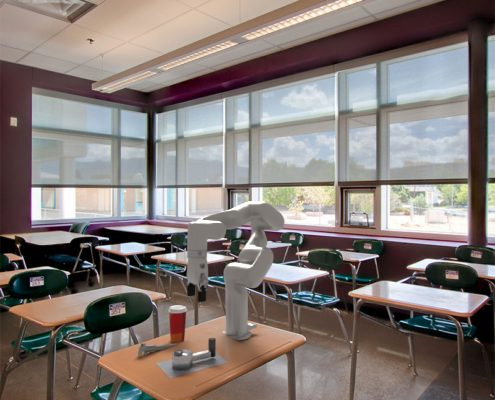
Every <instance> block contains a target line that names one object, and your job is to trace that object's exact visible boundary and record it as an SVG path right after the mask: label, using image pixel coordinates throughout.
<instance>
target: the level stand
mask: <svg viewBox="0 0 495 400" xmlns="http://www.w3.org/2000/svg"><path fill="white" fill-rule="evenodd" d="M226 364H229V361H227V359H225V358H223V357H222V356H221V355H219V354H218V353H217V352H216V356H215V357H210V358H206V359H202V360H198V361H194V362H193V365H192V367H190V368H188V369H185V370H177V369H174V368H173V367H172V358H171V359H167V360H164V361H160V362H156V363H155V365H156V366H157V367H158V368H159V369H160V370H161V371H162V372H163V373H164V374H165V375H166V376H167V377H168V378H169V379H173V378H176V377H177V378H178V377H179V376H184V375H187V374H190V373H191V374H192V373H195V372H198V371H202V370H206V369H209V368H213V367H218V366H220V365H226Z"/></svg>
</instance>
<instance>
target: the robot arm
mask: <svg viewBox="0 0 495 400" xmlns="http://www.w3.org/2000/svg"><path fill="white" fill-rule="evenodd" d="M249 222H250V229H251V231H250V233H251V234H250V237H249V239H248V241H247V242H246V243H245V245H244V246H243V247H242V249H241V250H240V253H239V254H238V261H237V262H236V261H235V262H230V263H227V265H225V266H224V267H225V268H224V269H223V280H224V285H225V330H223V331H222V334H223V335H224V334H225V335H226V336H228V337H230V338H231V339H233V341H245V340H248V339H249V338H251V336H252V332H251V330H254V329H257V328H258V325H257V324H256V323H253V324H252V323H250V322H249V323H248V320H249V319H248V316H249V315H248V312H249V310H248V305H249V303H248V302H249V294H248V290H247V288H250V289H251V288H252V289H255V288H258V287H259V286H260V285H261V283H262V282H263V280H264V279H265V277H266V275H267V274H268V272H269V270H270V269H271V268H272V265H273V262H274V253H273V250H272V249H271V248H270V247H267V245H268V239H267V238H268V237H267V236H266V231H268V232H269V231H271V232H278V231H281V230H283V228H284V225H285V218H284V216H283V214H282V212H280V211H279V210H277V209H276V208H275V207H274V206H273V205H271V203H268V202H266V201H260V200H259V201H254V200H253V201H246V202H243V203H241V204H239V205H237V206H234V207H231V209H228V210H223V211H220V212H219V211H218V212H215V213H212V214H208V215H206V216H204V217H202V218H199V219H197V220H196V221H190V222H188V223H187V247H186V248H187V251H186V252H187V254H186V255H187V256H186V258H187V265H186V266H187V267H186V273H185V274H186V281H187V282H186V288H187V290H186V295H187V297H194V296H196V286H197V288H198V289H197V290H198V291H197V302H198V303H203V302H206V301H207V290H208V284H209V265H208V259H207V258H208V241H209V240H212V241H217V240H218V241H219V240H221V239H223V238H224V237H225V235H226V233H227V230H233V229H238V228H241V227H242V226H244V225H246V224H247V223H249Z"/></svg>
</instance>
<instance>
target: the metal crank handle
mask: <svg viewBox="0 0 495 400" xmlns="http://www.w3.org/2000/svg"><path fill="white" fill-rule="evenodd" d="M216 340H217V339H216V338H215V337H210V338H208V340H207V341H208V344H207V345H208V346H207V347H208V348H207V349H208V350H203V351H198V352H194V353H193V351H192V350H190V349H175V350H173V352H172V355H171V359H172V367H173V368H174V369H177V370H185V369H188V368H190V367H192V365H193V362H194V361H198V360H202V359H206V358H210V357H215V356H216V353H217V352H216V349H217V348H216V346H217V345H216V344H217V342H216Z"/></svg>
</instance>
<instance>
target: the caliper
mask: <svg viewBox="0 0 495 400" xmlns="http://www.w3.org/2000/svg"><path fill="white" fill-rule="evenodd" d="M176 345H178V343H167V344H159V345H157V344H147V343H146V342H143V343H142V342H141V344H140V345H139V348H138V351H137V356H138V357H139V358H140V357H142V356H147V355H148V353H151V354H152V353H156V352H157V351H160V350H164V349H168V348H171V347H173V346H176Z"/></svg>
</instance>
